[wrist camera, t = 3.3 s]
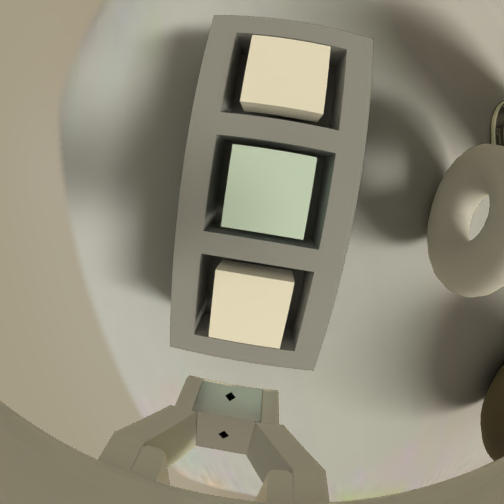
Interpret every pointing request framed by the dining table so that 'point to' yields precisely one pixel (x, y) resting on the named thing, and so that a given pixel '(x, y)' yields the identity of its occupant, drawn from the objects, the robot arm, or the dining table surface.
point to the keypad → (276, 138)
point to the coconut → (494, 417)
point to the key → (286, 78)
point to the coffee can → (498, 126)
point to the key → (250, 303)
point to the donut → (458, 222)
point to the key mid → (268, 191)
